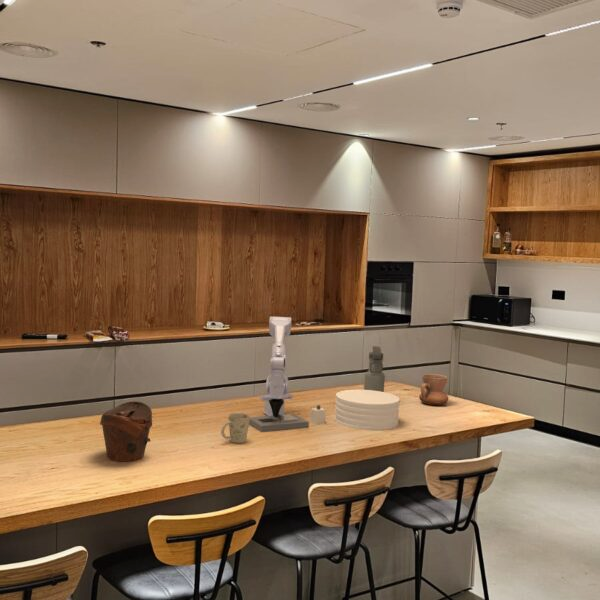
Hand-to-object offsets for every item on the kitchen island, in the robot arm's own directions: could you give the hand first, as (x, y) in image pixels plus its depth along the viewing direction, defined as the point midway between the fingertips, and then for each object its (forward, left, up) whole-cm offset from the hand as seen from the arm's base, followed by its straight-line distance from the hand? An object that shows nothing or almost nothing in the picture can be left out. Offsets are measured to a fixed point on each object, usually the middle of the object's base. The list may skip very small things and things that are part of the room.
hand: (275, 416), depth 297 cm
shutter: (0, +5, -1) cm, 5 cm away
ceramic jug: (-13, +95, -4) cm, 96 cm away
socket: (0, +1, -4) cm, 4 cm away
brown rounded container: (+20, -69, -4) cm, 72 cm away
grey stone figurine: (-22, +65, -4) cm, 69 cm away
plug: (+1, +20, -4) cm, 21 cm away
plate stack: (+6, +42, -4) cm, 43 cm away
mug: (+16, -26, -4) cm, 31 cm away
